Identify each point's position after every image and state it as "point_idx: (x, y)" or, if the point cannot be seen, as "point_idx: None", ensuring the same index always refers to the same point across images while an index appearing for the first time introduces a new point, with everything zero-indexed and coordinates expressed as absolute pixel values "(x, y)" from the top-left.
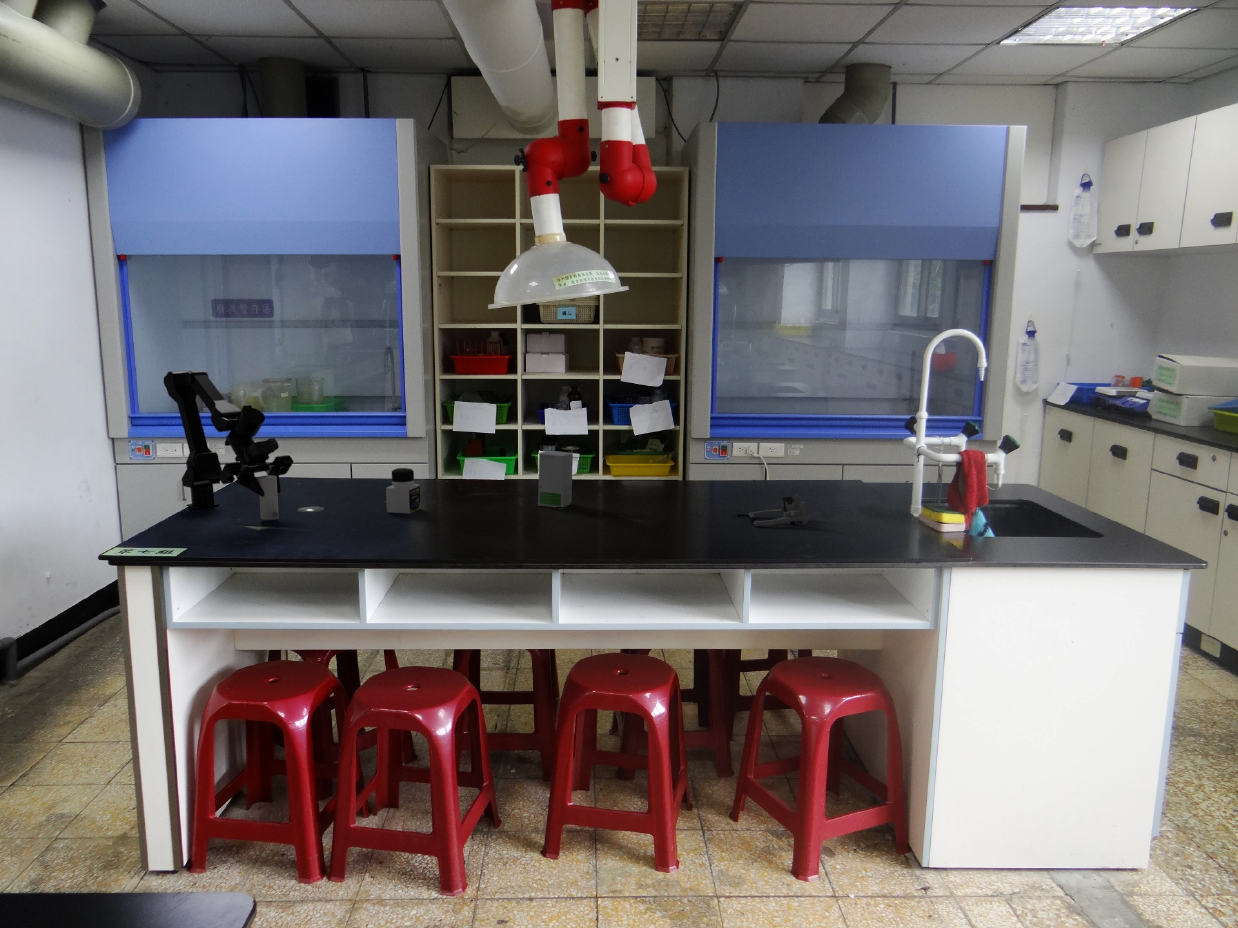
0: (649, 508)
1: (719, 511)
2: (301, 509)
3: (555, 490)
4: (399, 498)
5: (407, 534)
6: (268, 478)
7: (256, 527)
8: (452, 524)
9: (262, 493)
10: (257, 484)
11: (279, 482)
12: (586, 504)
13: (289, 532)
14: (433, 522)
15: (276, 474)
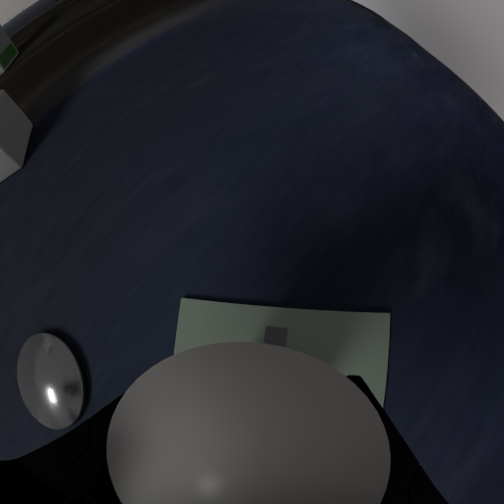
0: (28, 29)
1: (42, 10)
2: (61, 414)
3: (5, 44)
4: (9, 119)
5: (188, 21)
6: (327, 368)
7: (374, 349)
8: (103, 36)
9: (362, 381)
10: (394, 456)
11: (114, 400)
12: None
13: (333, 186)
14: (94, 54)
15: (57, 468)
